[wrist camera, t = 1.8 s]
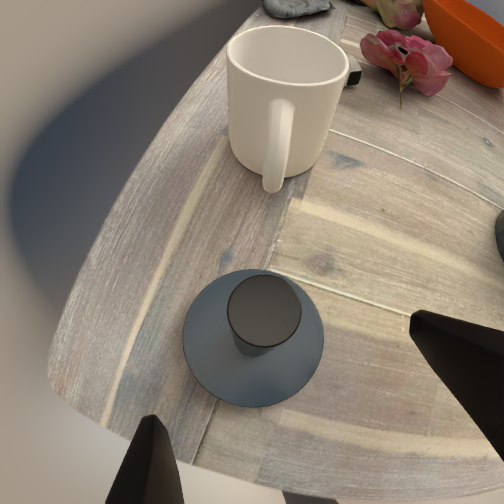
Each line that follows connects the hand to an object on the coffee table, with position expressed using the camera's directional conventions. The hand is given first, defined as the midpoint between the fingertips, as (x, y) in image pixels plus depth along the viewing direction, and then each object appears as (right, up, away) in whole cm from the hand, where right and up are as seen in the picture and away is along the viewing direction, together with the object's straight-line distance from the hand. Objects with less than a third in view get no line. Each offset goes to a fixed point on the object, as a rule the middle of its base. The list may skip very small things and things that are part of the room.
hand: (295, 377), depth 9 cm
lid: (-1, -2, +11) cm, 12 cm away
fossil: (+6, +40, +32) cm, 52 cm away
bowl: (+38, +39, +29) cm, 61 cm away
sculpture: (+24, +52, +30) cm, 65 cm away
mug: (+1, +12, +18) cm, 21 cm away
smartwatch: (+9, +23, +22) cm, 34 cm away
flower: (+17, +26, +23) cm, 39 cm away
